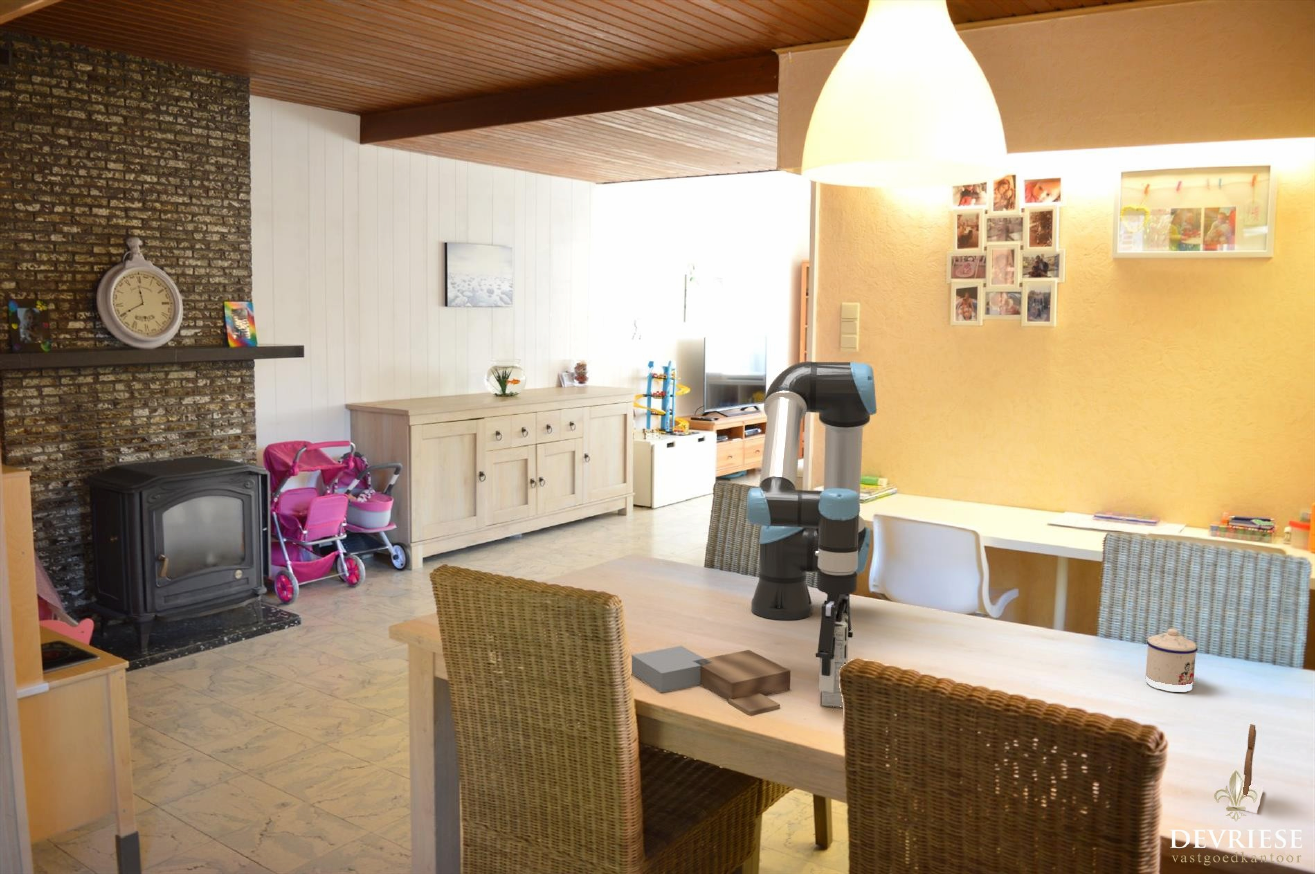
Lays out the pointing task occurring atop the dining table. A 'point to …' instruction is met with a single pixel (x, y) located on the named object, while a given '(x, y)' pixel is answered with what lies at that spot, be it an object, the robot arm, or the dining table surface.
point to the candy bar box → (837, 663)
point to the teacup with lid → (1171, 658)
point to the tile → (754, 704)
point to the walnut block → (743, 675)
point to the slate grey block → (668, 668)
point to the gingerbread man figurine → (1249, 759)
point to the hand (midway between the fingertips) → (833, 679)
